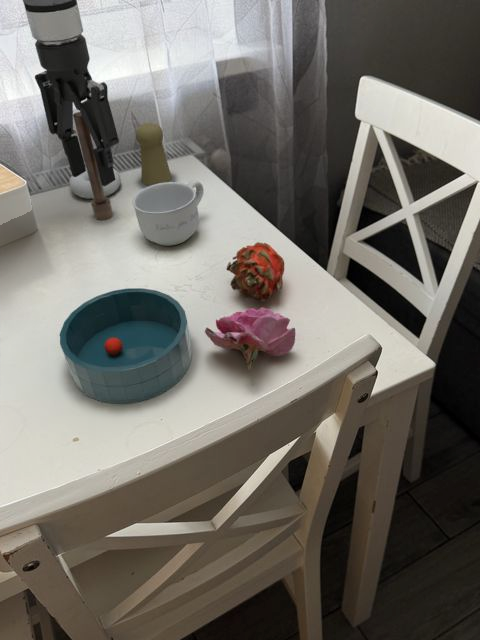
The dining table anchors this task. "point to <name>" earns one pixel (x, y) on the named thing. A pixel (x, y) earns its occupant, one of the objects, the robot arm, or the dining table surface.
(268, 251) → the dragon fruit
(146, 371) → the bowl
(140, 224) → the teacup
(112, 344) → the red ball
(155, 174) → the olive pawn
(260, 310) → the flower
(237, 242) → the dining table surface
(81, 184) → the donut
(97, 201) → the stirring stick
